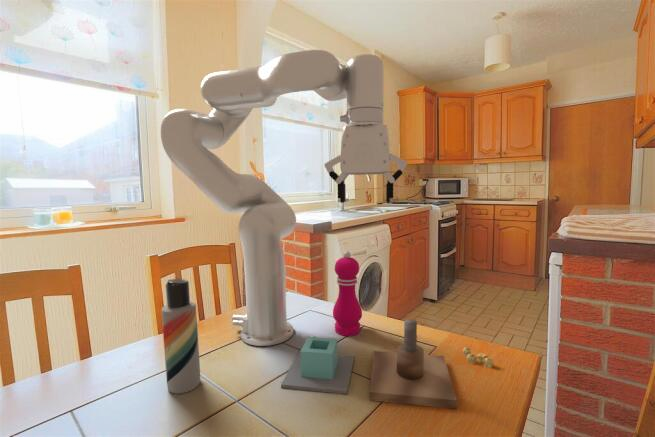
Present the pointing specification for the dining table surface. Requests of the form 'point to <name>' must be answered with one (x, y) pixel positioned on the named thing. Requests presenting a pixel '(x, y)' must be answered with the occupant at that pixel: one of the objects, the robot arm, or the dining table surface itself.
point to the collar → (319, 358)
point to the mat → (319, 384)
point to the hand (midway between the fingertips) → (365, 202)
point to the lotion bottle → (180, 338)
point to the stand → (411, 375)
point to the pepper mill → (347, 297)
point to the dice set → (480, 357)
